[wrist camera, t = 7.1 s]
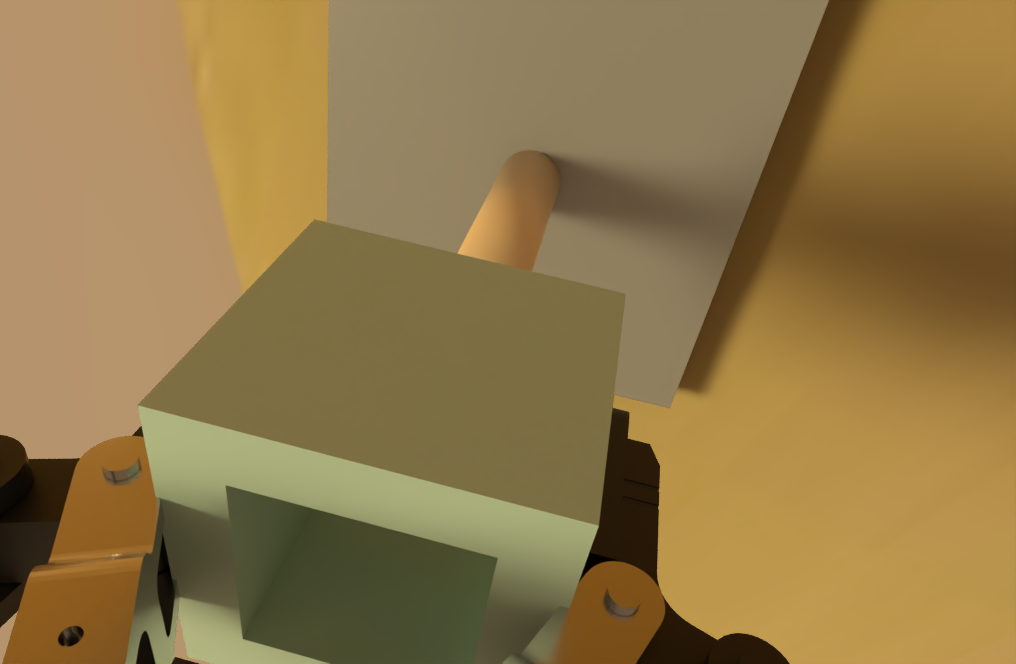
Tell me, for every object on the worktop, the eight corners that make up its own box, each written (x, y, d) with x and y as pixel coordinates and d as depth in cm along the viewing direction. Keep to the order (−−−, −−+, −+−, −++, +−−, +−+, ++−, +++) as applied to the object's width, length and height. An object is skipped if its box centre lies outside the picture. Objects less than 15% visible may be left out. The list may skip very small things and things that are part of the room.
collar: (314, 219, 14) (137, 405, 9) (625, 294, 13) (599, 526, 9) (315, 443, 17) (187, 656, 13) (560, 507, 17) (517, 751, 12)
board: (346, -150, 20) (188, -143, 14) (838, -51, 20) (921, 7, 13) (337, 308, 30) (241, 443, 23) (669, 389, 29) (668, 554, 22)
